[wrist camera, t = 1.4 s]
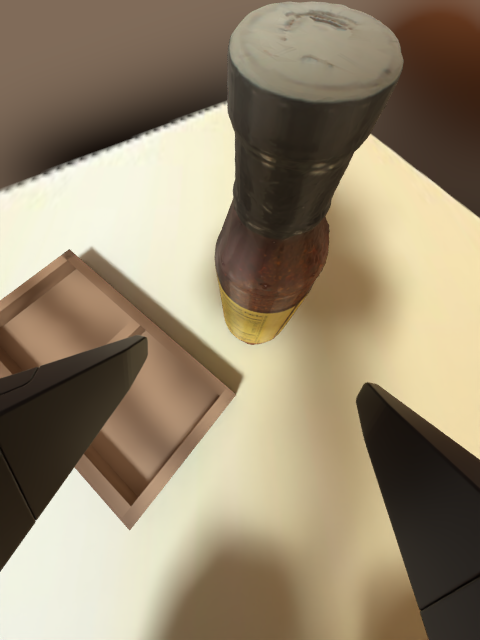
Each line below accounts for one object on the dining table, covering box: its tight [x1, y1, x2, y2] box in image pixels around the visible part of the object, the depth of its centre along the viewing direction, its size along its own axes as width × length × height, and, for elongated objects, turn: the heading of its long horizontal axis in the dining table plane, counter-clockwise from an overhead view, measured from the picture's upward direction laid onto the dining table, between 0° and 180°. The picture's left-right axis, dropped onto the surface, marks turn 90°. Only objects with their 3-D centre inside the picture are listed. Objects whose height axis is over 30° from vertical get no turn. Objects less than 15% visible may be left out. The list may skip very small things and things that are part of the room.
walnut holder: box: [0, 249, 236, 530], centre depth 21 cm, size 12×23×2 cm, turn 51°
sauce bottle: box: [215, 2, 403, 345], centre depth 14 cm, size 7×6×20 cm
